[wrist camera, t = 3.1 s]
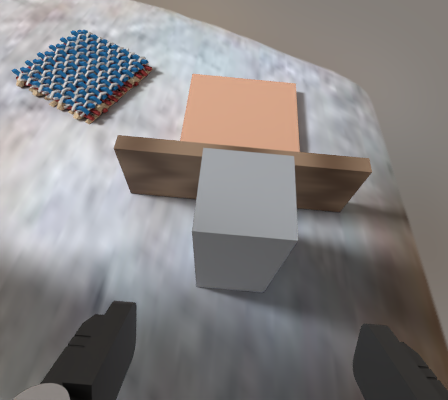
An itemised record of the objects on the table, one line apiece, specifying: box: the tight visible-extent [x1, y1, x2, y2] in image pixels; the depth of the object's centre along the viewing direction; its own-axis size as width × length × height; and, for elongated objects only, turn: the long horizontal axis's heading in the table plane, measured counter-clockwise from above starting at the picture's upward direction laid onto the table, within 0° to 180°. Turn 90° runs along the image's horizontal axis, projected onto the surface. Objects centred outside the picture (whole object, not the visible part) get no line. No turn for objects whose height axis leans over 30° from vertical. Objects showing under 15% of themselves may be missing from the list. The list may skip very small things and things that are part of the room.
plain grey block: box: [192, 148, 298, 293], centre depth 20 cm, size 5×5×10 cm
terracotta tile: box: [180, 74, 300, 152], centre depth 31 cm, size 11×11×1 cm
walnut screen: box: [114, 135, 372, 212], centre depth 25 cm, size 18×1×6 cm, turn 86°
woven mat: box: [12, 30, 152, 124], centre depth 33 cm, size 10×11×2 cm
